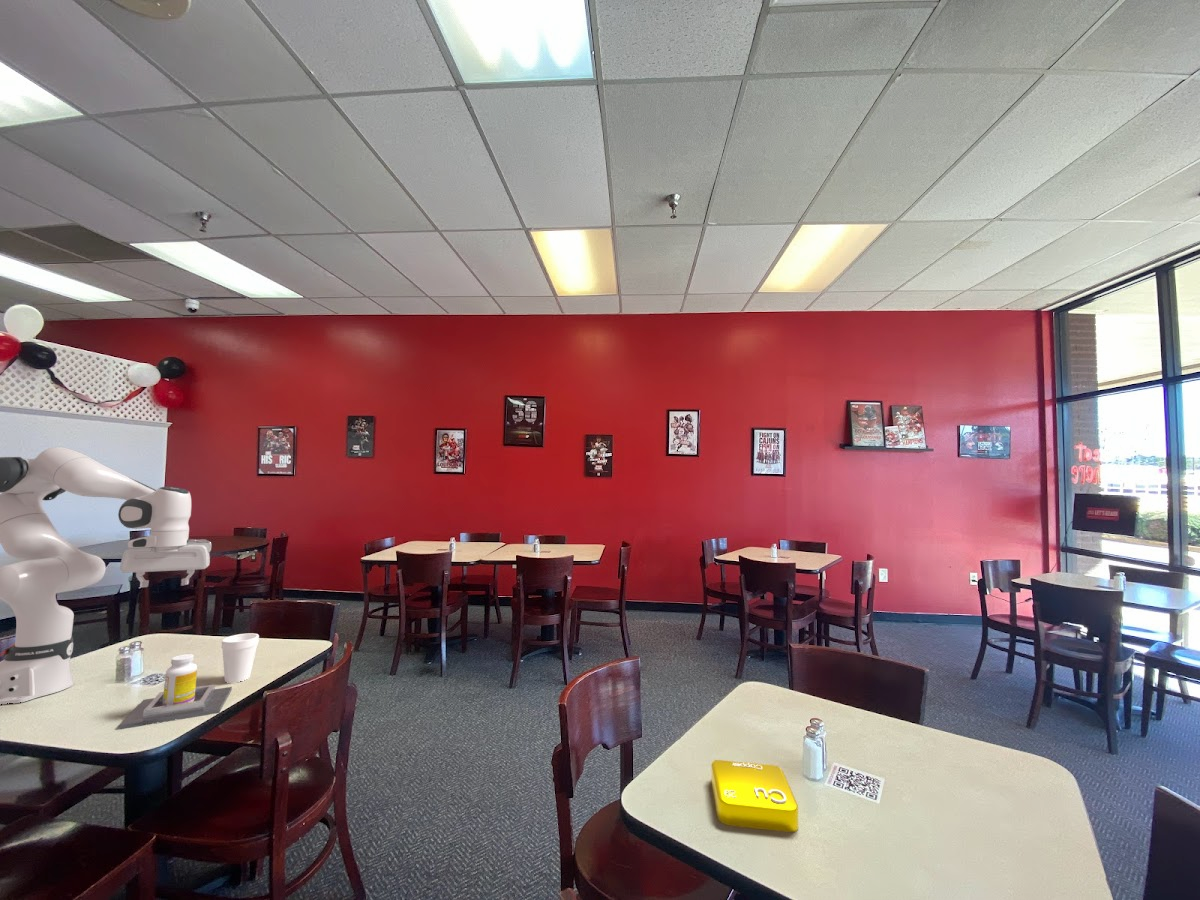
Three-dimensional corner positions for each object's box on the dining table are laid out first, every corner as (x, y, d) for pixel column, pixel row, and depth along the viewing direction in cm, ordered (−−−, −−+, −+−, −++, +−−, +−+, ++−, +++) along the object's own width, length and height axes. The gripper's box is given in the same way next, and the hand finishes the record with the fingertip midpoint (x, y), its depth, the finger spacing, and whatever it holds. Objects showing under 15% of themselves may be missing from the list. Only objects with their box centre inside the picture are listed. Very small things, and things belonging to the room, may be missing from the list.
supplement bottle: (200, 699, 133) (204, 652, 134) (180, 710, 127) (185, 661, 128) (176, 699, 133) (181, 652, 134) (155, 710, 127) (160, 661, 128)
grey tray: (119, 729, 118) (120, 716, 119) (143, 703, 132) (144, 692, 133) (219, 712, 128) (220, 701, 128) (231, 690, 142) (232, 679, 142)
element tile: (781, 785, 101) (780, 762, 102) (801, 835, 87) (801, 808, 87) (710, 778, 103) (710, 755, 104) (718, 826, 89) (718, 799, 89)
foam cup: (216, 687, 143) (220, 644, 144) (220, 677, 151) (223, 636, 152) (254, 681, 149) (258, 639, 150) (256, 671, 156) (259, 631, 157)
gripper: (214, 537, 152) (210, 581, 151) (129, 539, 142) (124, 586, 141) (209, 539, 146) (205, 585, 145) (120, 542, 137) (115, 590, 135)
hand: (164, 585), depth 143 cm, fingers open, 8 cm apart
